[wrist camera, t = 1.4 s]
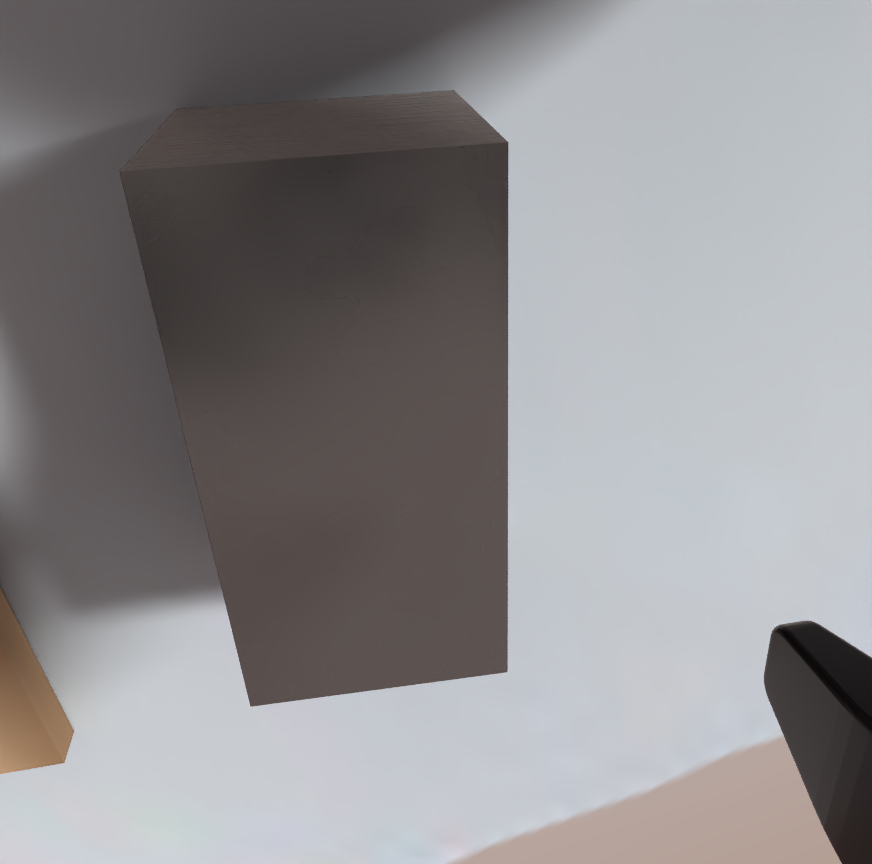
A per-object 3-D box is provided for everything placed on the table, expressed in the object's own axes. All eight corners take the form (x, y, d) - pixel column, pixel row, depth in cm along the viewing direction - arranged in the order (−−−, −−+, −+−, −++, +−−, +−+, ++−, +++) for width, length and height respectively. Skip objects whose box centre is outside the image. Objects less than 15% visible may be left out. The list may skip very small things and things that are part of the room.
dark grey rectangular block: (452, 88, 15) (508, 142, 10) (466, 519, 20) (507, 671, 16) (177, 107, 14) (119, 170, 10) (264, 542, 19) (251, 706, 15)
